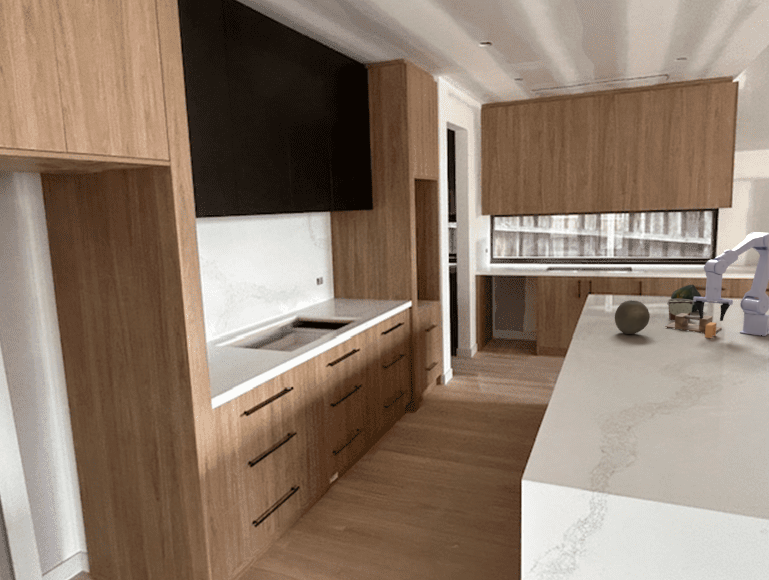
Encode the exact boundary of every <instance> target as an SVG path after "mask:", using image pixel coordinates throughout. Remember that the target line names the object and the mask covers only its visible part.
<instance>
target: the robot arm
mask: <svg viewBox="0 0 769 580" xmlns="http://www.w3.org/2000/svg"><path fill="white" fill-rule="evenodd" d="M752 248H753V250H755V251H756V252H758V254H759V257H758V261H757V265H756V268H755V273H754V276H753V281H752V283H751V287H750V290H747V292H744V296H743V298H742V299H741V300H740V303H739V306H740V308H741V309H742V312H743V325H742V330H740V331H739V333H740V334H746V335H753V336H761V335H762V336H761V337H766V336H768V334H769V314H766V313H767V312H768V311H769V295H768V294H767V293H766V291H767V288H768V284H769V232H762V231H761V232H757V231H751V232H750V233H749V234H747V235H745V239H743V241H742V240H741V242H740V243H738V244H737V245H736V246H735V247H733V248H732V249H724V250H723V252H722V253H721V254H719V255H718V256H715V258H713V259H709V260H707V261H706V262H705V264H704V266H703V270H704V272H705V277H706V283H705V296H701V297H694V298H693V301H695V302H696V303H695V305H696V307H697V309H698V310H697V311H698V314H699V317H700V319H702V318H703V317H704V309H705V308H704V307H705V304H706V303H711V304H720V316H719V321H720V322H723V321H724V318H725V315H726V313H727V311H728V309H729V308H730V306H732V305H733V304H734V300H733V299H728V298H722V289H723V288H722V286H723V274H725V273H726V271H727V269H728V268H729V267H730V266H731V265H732V264H734V263H735V262H736V261H738V259H739V256H740V255H742V254H744V253H745V252H747V251H748V250H750V249H752Z"/></svg>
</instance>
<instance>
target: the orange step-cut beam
mask: <svg viewBox="0 0 769 580" xmlns="http://www.w3.org/2000/svg"><path fill="white" fill-rule="evenodd" d="M716 327H717V322H714V321H712V322H710V323H708V324H706V328H705V333H704V338H707V339H712V338H713V337H715V336H716V335H717V334H716V333H717V332H716Z"/></svg>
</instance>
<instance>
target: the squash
mask: <svg viewBox="0 0 769 580" xmlns="http://www.w3.org/2000/svg"><path fill="white" fill-rule="evenodd" d="M694 297H702V295H701V293H700V292H699V290H698V289H697V287H696V286H695V285H694V284H688V285H685V286H682V287H680V288H677V289H676V290H674V291H673V292H672V294H671V297H670V299H689V300H693V298H694ZM693 302H694V305H693V306H692V312H697V311H698V309H697V307H696V305H695V303H696V302H695V301H693Z"/></svg>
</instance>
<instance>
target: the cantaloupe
mask: <svg viewBox="0 0 769 580" xmlns="http://www.w3.org/2000/svg"><path fill="white" fill-rule="evenodd" d="M650 315H651V314H650V312H649V309H648V307H647V306H646V305H645V304H644V303H643V302H641V301H638V300H633V299H631V300H630V299H629V300H626V301H625V300H624V302H622V303H620V305H618V307H617V308H616V310H615V313H614V324H615V326H616V327H617V329H618V330H619V331H620V332H621V333H623V334H625V335H636V334H637V333H639V332H641V331H643V330H644V329H645V328H647V325H648V324H649V322H650V318H651V317H650Z"/></svg>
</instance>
